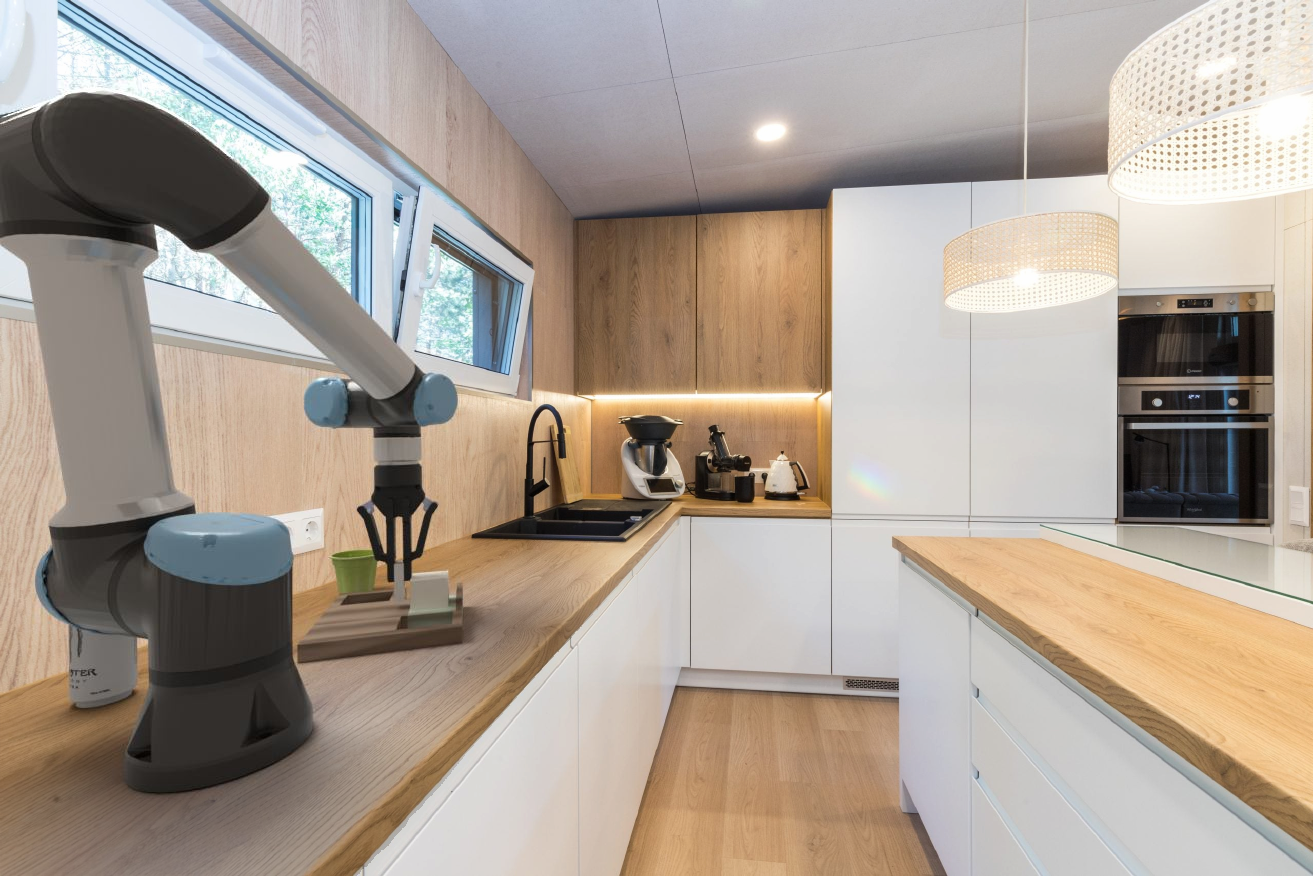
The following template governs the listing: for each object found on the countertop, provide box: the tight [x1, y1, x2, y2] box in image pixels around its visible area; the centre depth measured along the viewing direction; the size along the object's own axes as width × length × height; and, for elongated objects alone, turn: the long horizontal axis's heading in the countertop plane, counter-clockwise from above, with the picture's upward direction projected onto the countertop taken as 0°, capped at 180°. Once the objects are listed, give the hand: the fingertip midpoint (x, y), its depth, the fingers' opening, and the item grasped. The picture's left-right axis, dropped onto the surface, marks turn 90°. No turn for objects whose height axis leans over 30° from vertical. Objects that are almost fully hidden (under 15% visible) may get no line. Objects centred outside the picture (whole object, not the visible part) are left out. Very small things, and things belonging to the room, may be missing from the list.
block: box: [409, 569, 450, 611], centre depth 100 cm, size 6×6×5 cm
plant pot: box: [329, 548, 379, 596], centre depth 115 cm, size 9×9×9 cm
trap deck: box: [296, 582, 464, 664], centre depth 97 cm, size 29×22×4 cm
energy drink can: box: [67, 624, 139, 709], centre depth 70 cm, size 6×6×15 cm
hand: (400, 600), depth 98 cm, fingers closed
